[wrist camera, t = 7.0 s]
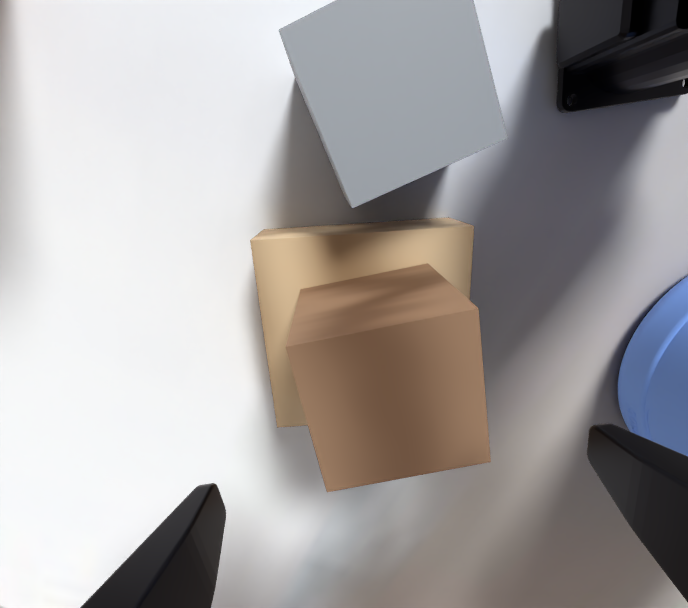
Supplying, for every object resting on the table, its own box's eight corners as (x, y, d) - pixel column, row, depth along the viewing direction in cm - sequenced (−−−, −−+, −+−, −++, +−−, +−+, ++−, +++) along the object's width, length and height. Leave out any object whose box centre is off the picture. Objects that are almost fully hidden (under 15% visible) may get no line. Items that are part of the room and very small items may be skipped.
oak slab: (446, 216, 20) (474, 225, 16) (440, 375, 23) (462, 413, 20) (264, 228, 20) (250, 240, 16) (285, 386, 23) (277, 427, 19)
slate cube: (413, 18, 17) (457, -63, 11) (453, 149, 18) (508, 138, 13) (295, 77, 17) (278, 29, 11) (345, 198, 19) (352, 208, 13)
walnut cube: (427, 263, 17) (478, 308, 11) (441, 375, 19) (490, 461, 13) (300, 289, 17) (285, 346, 11) (327, 397, 19) (326, 492, 13)
